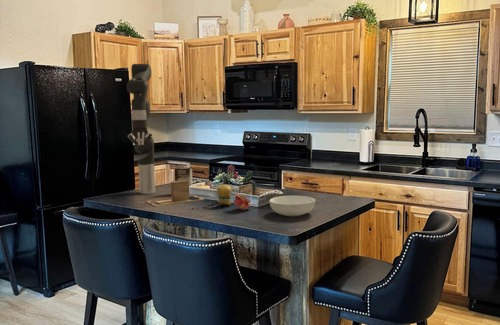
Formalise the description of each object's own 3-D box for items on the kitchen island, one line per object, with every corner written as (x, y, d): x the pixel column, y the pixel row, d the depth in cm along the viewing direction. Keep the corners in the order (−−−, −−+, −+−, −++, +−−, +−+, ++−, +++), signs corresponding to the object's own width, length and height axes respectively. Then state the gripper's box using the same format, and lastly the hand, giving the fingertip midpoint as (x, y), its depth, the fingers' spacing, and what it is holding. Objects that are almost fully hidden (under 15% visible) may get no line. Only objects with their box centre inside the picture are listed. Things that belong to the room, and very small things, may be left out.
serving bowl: (282, 207, 223) (281, 194, 222) (321, 212, 212) (322, 197, 212) (261, 216, 205) (261, 201, 204) (303, 221, 195) (303, 205, 194)
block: (171, 200, 237) (170, 181, 236) (185, 198, 241) (184, 180, 240) (174, 202, 233) (174, 182, 232) (189, 200, 237) (188, 181, 236)
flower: (233, 209, 212) (243, 195, 213) (225, 202, 220) (235, 188, 220) (247, 218, 218) (257, 204, 218) (239, 210, 225) (248, 197, 225)
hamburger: (234, 204, 231) (233, 181, 230) (229, 207, 224) (229, 183, 223) (220, 204, 233) (219, 181, 232) (215, 207, 226) (214, 183, 225)
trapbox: (146, 204, 235) (145, 200, 235) (193, 198, 249) (193, 195, 249) (155, 209, 223) (155, 205, 223) (204, 202, 237) (204, 199, 237)
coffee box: (174, 196, 255) (173, 168, 253) (177, 194, 262) (176, 167, 260) (190, 196, 254) (189, 168, 252) (193, 194, 261) (192, 167, 259)
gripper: (149, 118, 241) (150, 151, 243) (124, 119, 234) (126, 152, 236) (153, 118, 235) (155, 152, 237) (128, 119, 228) (130, 153, 230)
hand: (140, 152), depth 236 cm, fingers closed
